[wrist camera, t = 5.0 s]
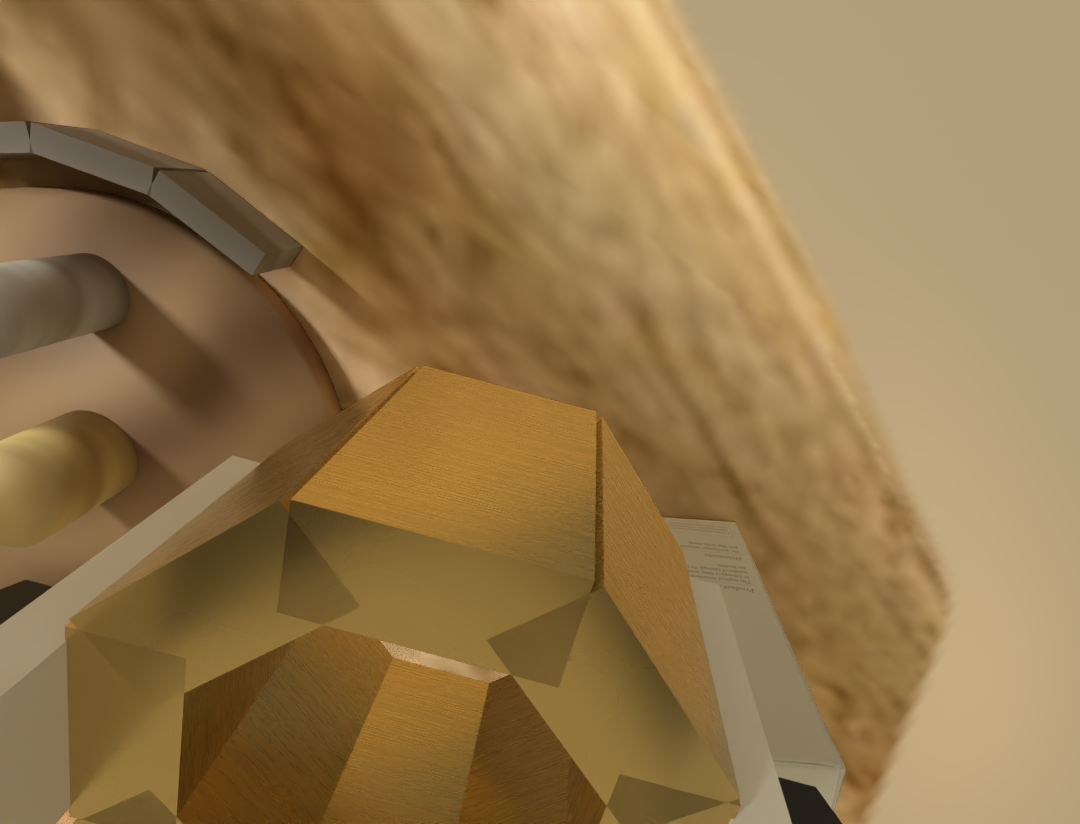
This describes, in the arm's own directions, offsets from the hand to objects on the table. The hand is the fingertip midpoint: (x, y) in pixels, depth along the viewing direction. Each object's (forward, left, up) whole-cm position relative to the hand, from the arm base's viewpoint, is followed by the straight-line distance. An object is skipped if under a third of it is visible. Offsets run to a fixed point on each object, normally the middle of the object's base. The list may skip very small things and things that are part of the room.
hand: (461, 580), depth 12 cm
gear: (0, 0, 0) cm, 0 cm away
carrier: (-7, -18, -15) cm, 24 cm away
